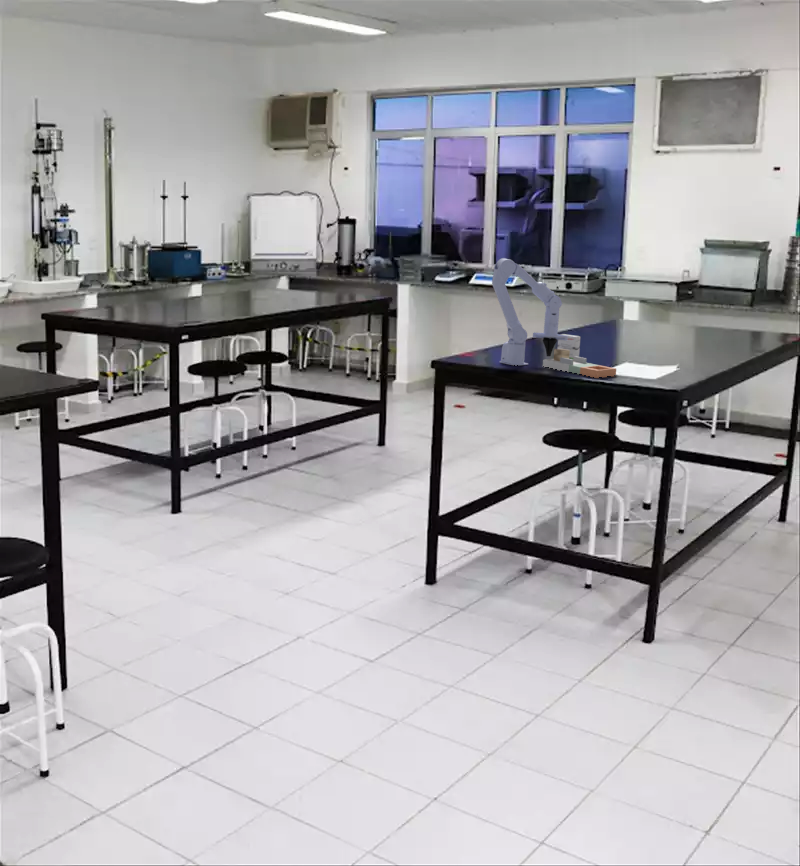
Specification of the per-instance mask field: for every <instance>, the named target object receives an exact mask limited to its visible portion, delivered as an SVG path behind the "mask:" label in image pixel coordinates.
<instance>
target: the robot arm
mask: <svg viewBox="0 0 800 866" xmlns="http://www.w3.org/2000/svg"><path fill="white" fill-rule="evenodd" d="M512 275H513V276H517V277H518V278H519V279H521V281H523V282H524V283H526V285H528V286H529V287H530V288H531V292H532V294H533V295H534V296H536V297H537V298H538V299H539V300H540V301H541V302H542V303H544V305H545V313H544V326H543V332H535V331H534V332H532V338H538V339H542V343H543V344H544V348H545V352H546V353H545V356H546V357H551V356H552V352H553V351H554V349H555V345H556V343H558V340H565V341H567V340H568V336H567V335H568V334H566V335H561V334H559V331H558V330H559V322H560V321H559V319H560V308H561V307H562V306H563V302H562V299H561V297H560V296H558V295H556V294H555V291H554V290H551V289H550V288H549V287H548V285H547V283H546V282H542V281H536V279H534V277H532V276H531V275H530V274H529V273H528V272H527V271H526V270H525V269H524V268H523V267H522V266H520V264H518V263H515V261H513V260H512V259H510V258H509V259H508V258H506V257H502V258H500V259H498V260H497V261H496V263H495V265H494V267H493V274H492V279H491V285H492V287H493V290H494V292H495V295H496V298H497V301H498V303H499V305H500V308H501V311H502V314H503V316H504V319H505V322H506V327H507V337H508V338H509V339H508V341H505V342H504V343H503V344H502V347H501V355H500V360H499V363H501V364H504V365H505V364H506V365H511V366H514V365H515V366H516V367H518V366H526V365H528V366H529V363H528V362H525V353H526V341H527V339H528V332H527V331H526V329H524V328H523V325H522V323H521V321H520V320H519V318H518V315H517V312H516V310H515V307H514V304H513V302H512V300H511V299H512V298H511V297H510V294H509V292H508V288H507V286H506V283H507V282H508V279H509V278H510V277H511V276H512ZM517 365H518V366H517Z"/></svg>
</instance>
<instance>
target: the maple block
mask: <svg viewBox="0 0 800 866" xmlns="http://www.w3.org/2000/svg"><path fill="white" fill-rule="evenodd" d="M569 354H570V350H566V349H557V348H553V358H552V359H553V360H556V361H560V358H568V359H569Z"/></svg>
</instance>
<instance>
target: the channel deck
mask: <svg viewBox="0 0 800 866" xmlns="http://www.w3.org/2000/svg"><path fill="white" fill-rule="evenodd" d="M553 359H554V358H550V359H549V358H547V359H546V358H545V359H543V360H542V367H543V366H544V367H543V368H545V367H549V368H548V369H550V368H553V369H552V370H555V369H557V370H556V371H560V370H562V371H561V372H565V371H567V372H566V373H569V372H572V373H571V374H574V373H577V374H576V375H579V374H582V375H581V376H584V375H586V376H585V377H588V376H590V378H593V377H594V379H600V378H599V377H602V378H608V377H607V376H611V377H615V376H614V375H616V376H617V368H615V367H610V366H606V365H600V364H594V363H591V362H587V360H588V359H587V357H583V356H582V357H581V356H579V357H577V356H574V358H573V359H568V358H560V361H556V360H553Z"/></svg>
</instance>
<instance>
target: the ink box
mask: <svg viewBox="0 0 800 866" xmlns="http://www.w3.org/2000/svg"><path fill="white" fill-rule="evenodd" d="M560 335H567V336H568V340H567V341H565V340H557V348H556V349H566V350H570V354H569V359H573V358H574V356H577V357H580V350H581V349H580V347H581V336H579V335H573V334H565V333H562V334H560Z"/></svg>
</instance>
